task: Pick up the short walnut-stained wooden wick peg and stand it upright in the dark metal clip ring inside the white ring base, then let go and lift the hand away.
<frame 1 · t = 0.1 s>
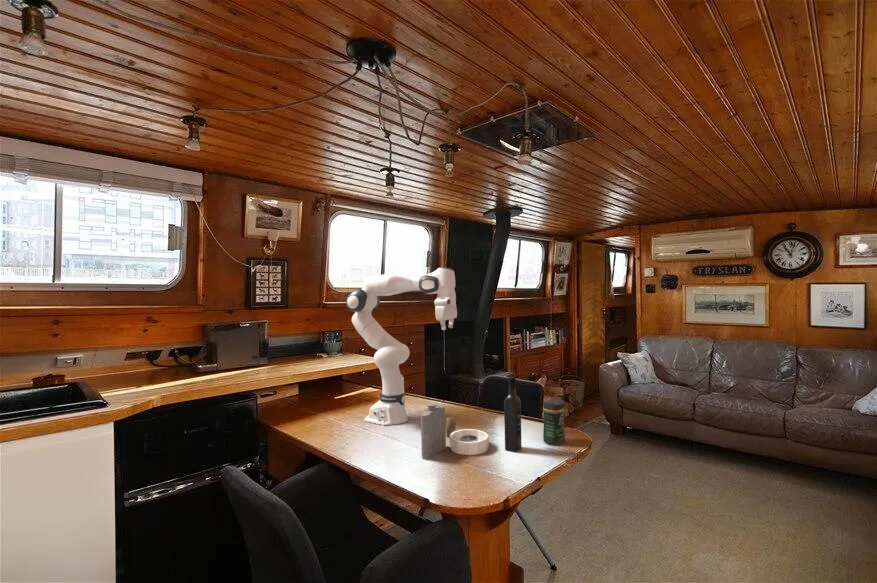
hand: (447, 328, 204), 48 cm above the table, fingers open, 8 cm apart
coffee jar: (554, 442, 182), on the table
white ring base: (469, 447, 178), on the table
hip flask: (433, 452, 174), on the table
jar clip: (469, 441, 178), in the white ring base, point 2 cm above the table
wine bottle: (513, 449, 175), on the table
walnut peg: (451, 436, 192), on the table
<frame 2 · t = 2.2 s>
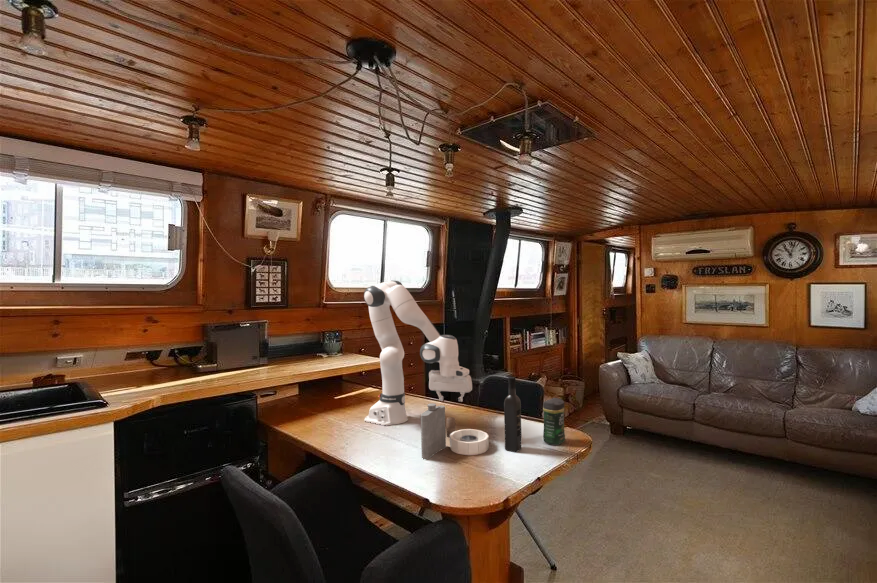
hand: (450, 400, 192), 16 cm above the table, fingers open, 8 cm apart
nothing on the table moved.
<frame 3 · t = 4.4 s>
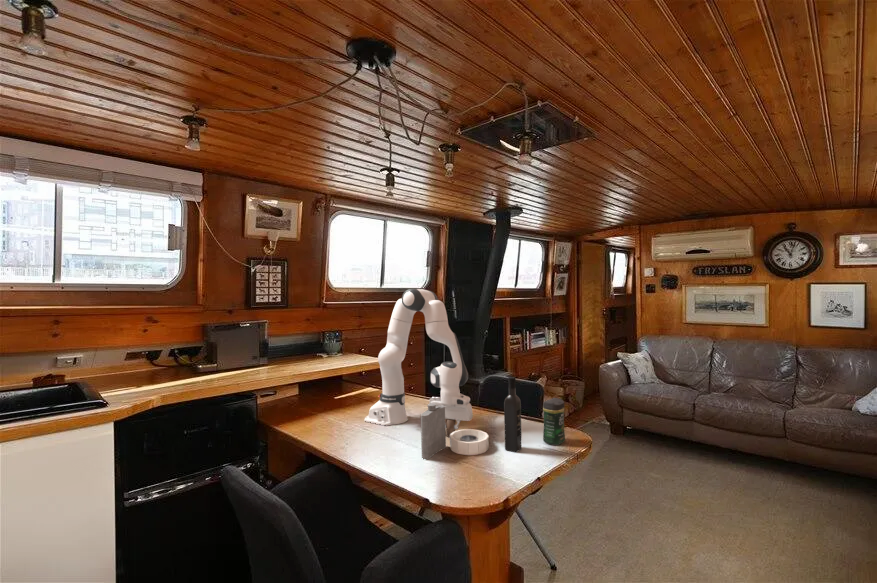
hand: (450, 428, 192), 4 cm above the table, fingers closed on walnut peg, 4 cm apart
walnut peg: (451, 436, 192), on the table, touching gripper
everything else where it was.
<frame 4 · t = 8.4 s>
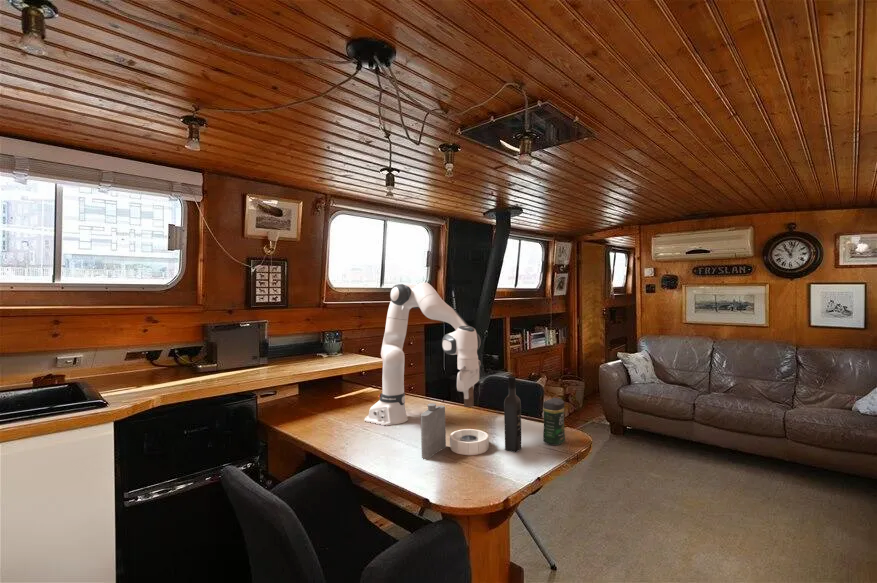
hand: (468, 397, 178), 21 cm above the table, fingers closed on walnut peg, 4 cm apart
walnut peg: (468, 405, 178), point 18 cm above the table, touching gripper
everything else where it was.
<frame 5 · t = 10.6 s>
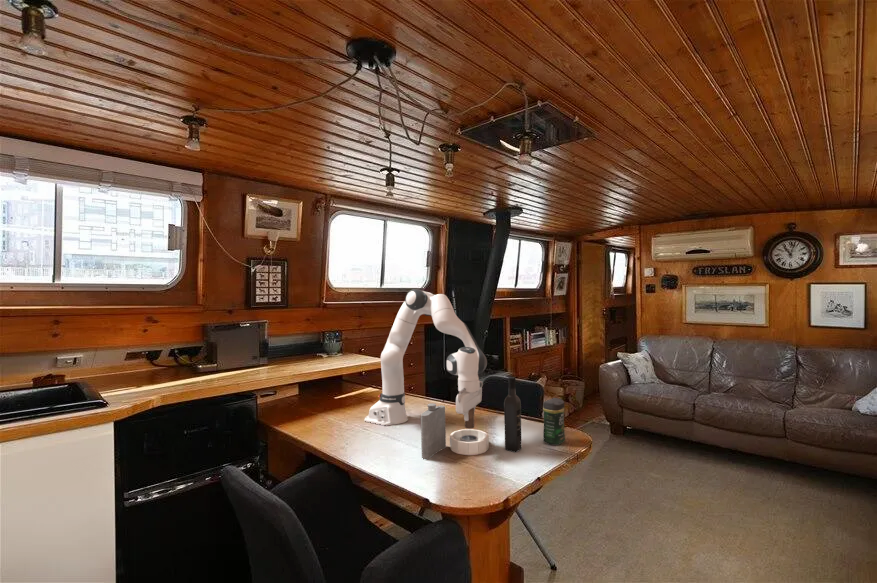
hand: (469, 418, 178), 12 cm above the table, fingers closed on walnut peg, 4 cm apart
walnut peg: (469, 426, 178), point 9 cm above the table, touching gripper
everything else where it was.
when the fingers open (6 cm above the table, at t = 12.5 s): walnut peg drops 1 cm, resting on white ring base.
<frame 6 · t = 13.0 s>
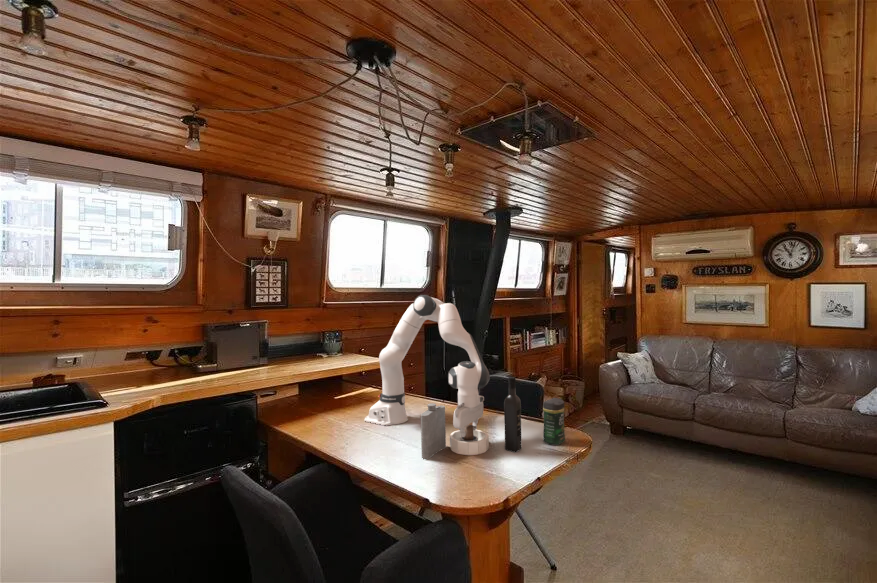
hand: (468, 433, 178), 6 cm above the table, fingers open, 8 cm apart
walnut peg: (468, 444, 178), point 1 cm above the table, touching white ring base
everything else where it was.
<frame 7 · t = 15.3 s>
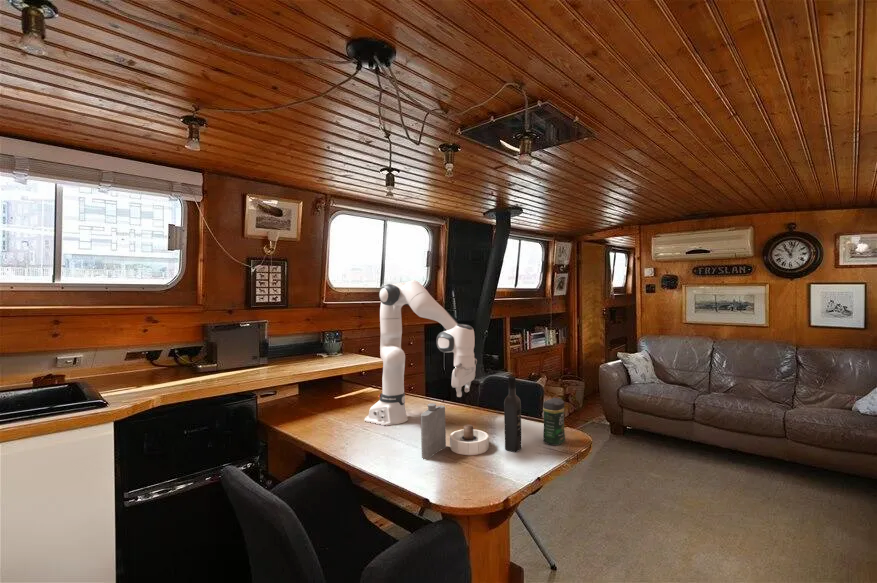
hand: (463, 394, 181), 22 cm above the table, fingers open, 8 cm apart
nothing on the table moved.
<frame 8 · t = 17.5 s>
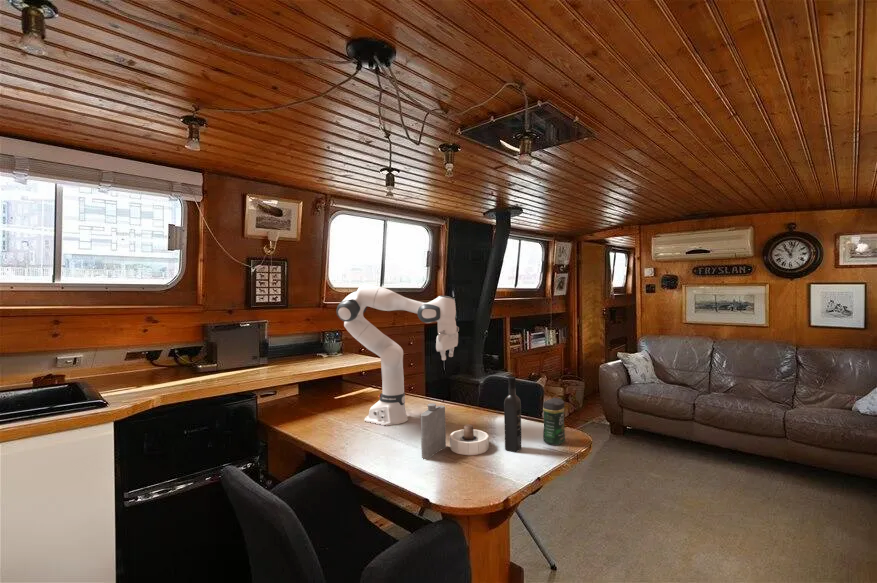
hand: (447, 358, 200), 34 cm above the table, fingers open, 8 cm apart
nothing on the table moved.
at the end: walnut peg 0.1 cm off-centre on the white ring base, point 1.0 cm above the white ring base's base; walnut peg tilted 0°; the gripper is holding nothing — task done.
